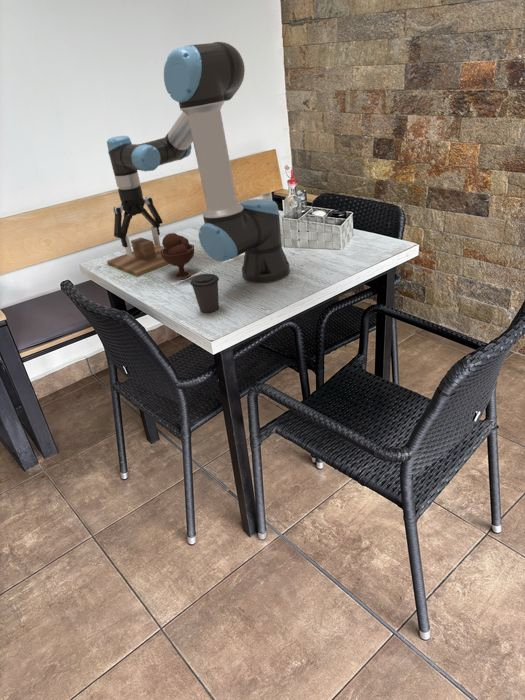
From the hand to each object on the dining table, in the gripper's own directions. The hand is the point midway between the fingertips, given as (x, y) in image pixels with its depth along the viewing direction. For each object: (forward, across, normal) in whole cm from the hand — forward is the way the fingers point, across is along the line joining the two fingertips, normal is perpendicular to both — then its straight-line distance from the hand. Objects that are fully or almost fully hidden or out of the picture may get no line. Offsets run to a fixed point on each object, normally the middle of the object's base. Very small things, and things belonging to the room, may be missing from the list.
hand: (143, 250), depth 186 cm
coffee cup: (+5, +10, +49) cm, 50 cm away
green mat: (+5, 0, 0) cm, 5 cm away
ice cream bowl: (+5, 0, +22) cm, 23 cm away
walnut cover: (+4, 0, 0) cm, 4 cm away
